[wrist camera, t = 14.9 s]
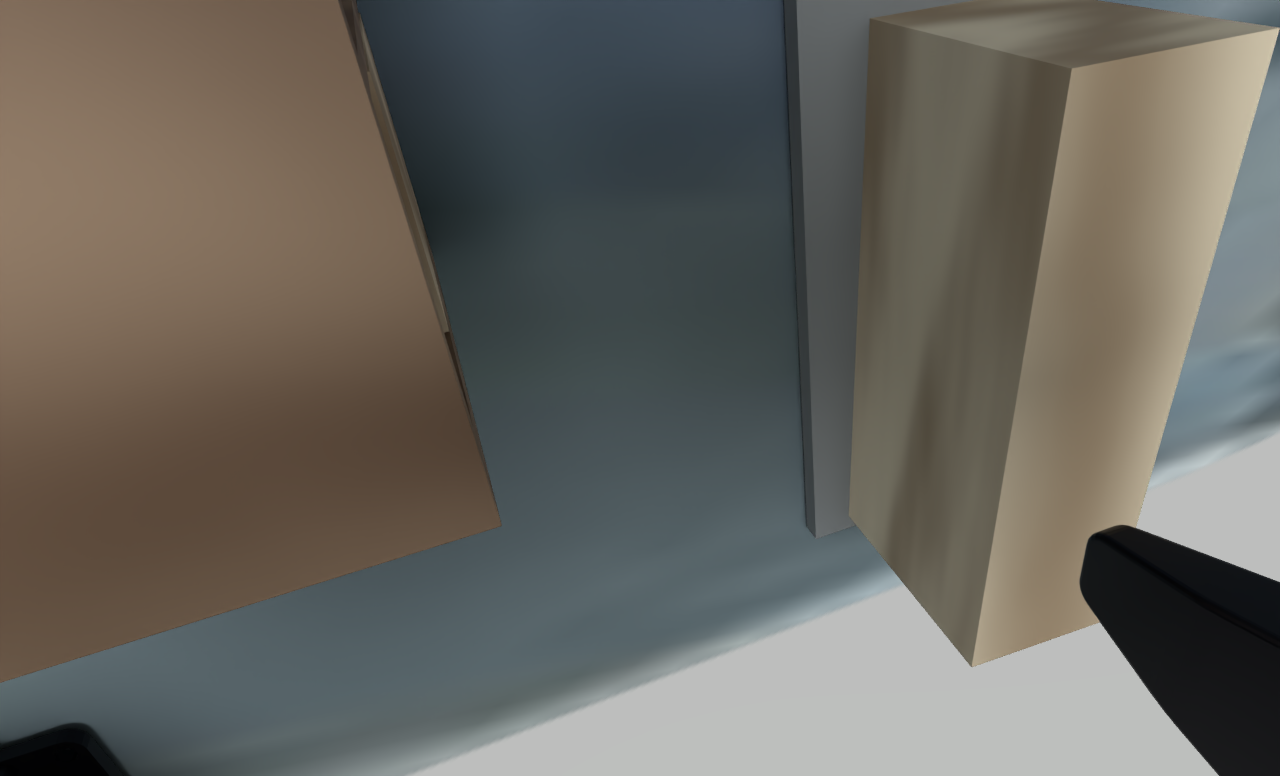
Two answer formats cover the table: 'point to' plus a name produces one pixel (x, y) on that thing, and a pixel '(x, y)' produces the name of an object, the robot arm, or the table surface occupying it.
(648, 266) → the table surface
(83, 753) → the robot arm
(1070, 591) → the block
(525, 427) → the table surface
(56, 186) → the brown storage crate
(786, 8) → the pad
